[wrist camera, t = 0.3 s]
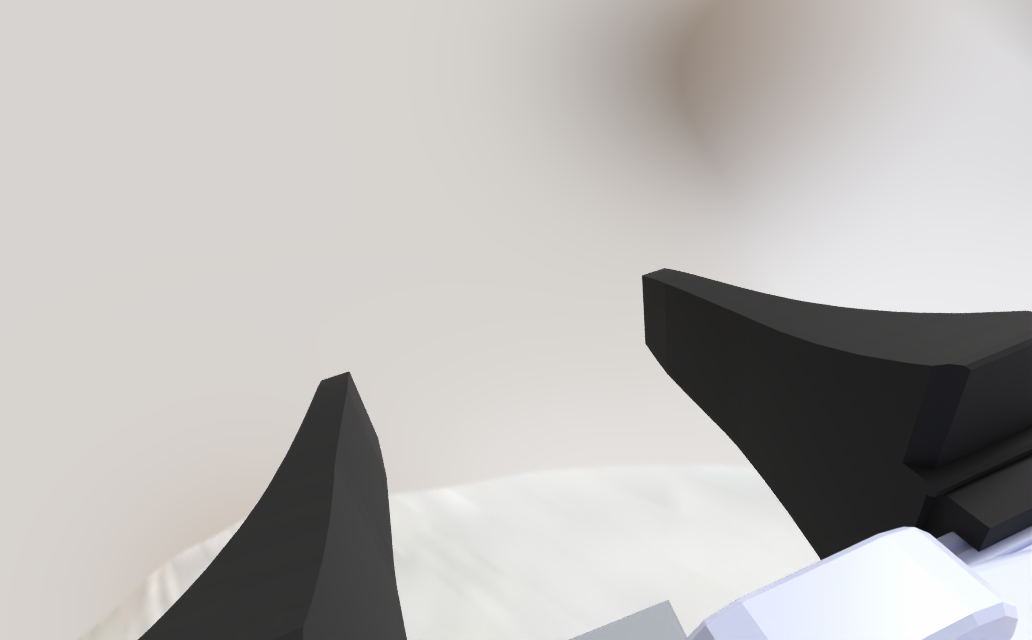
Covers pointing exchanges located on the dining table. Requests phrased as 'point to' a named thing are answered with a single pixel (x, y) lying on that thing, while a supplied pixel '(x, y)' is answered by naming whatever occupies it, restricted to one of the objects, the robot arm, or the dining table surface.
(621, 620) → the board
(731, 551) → the dining table surface
